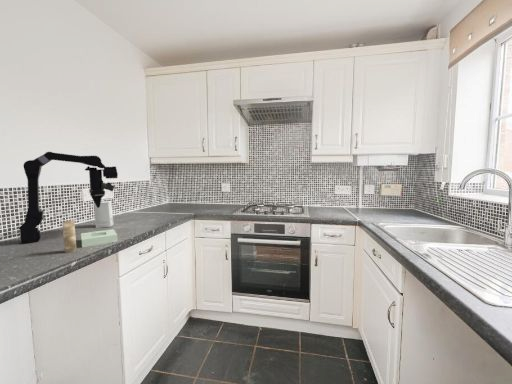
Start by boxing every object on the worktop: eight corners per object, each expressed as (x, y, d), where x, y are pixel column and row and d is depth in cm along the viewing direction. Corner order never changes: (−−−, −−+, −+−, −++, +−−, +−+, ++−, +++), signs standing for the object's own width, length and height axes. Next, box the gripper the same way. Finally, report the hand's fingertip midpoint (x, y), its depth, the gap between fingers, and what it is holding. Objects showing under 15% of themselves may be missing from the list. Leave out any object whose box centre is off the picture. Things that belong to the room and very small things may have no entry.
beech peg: (64, 253, 98) (62, 223, 97) (64, 250, 101) (62, 221, 100) (76, 251, 100) (74, 221, 99) (76, 248, 104) (74, 220, 102)
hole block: (82, 247, 106) (81, 239, 105) (81, 240, 117) (81, 233, 116) (117, 241, 114) (117, 234, 114) (114, 235, 125) (113, 229, 125)
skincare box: (113, 224, 150) (112, 200, 149) (110, 227, 144) (108, 202, 143) (98, 225, 148) (97, 201, 147) (94, 228, 142) (93, 202, 140)
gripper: (115, 178, 127) (116, 207, 128) (110, 178, 142) (112, 203, 143) (89, 179, 120) (92, 209, 121) (88, 178, 135) (90, 205, 136)
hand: (97, 206), depth 131 cm, fingers open, 9 cm apart
